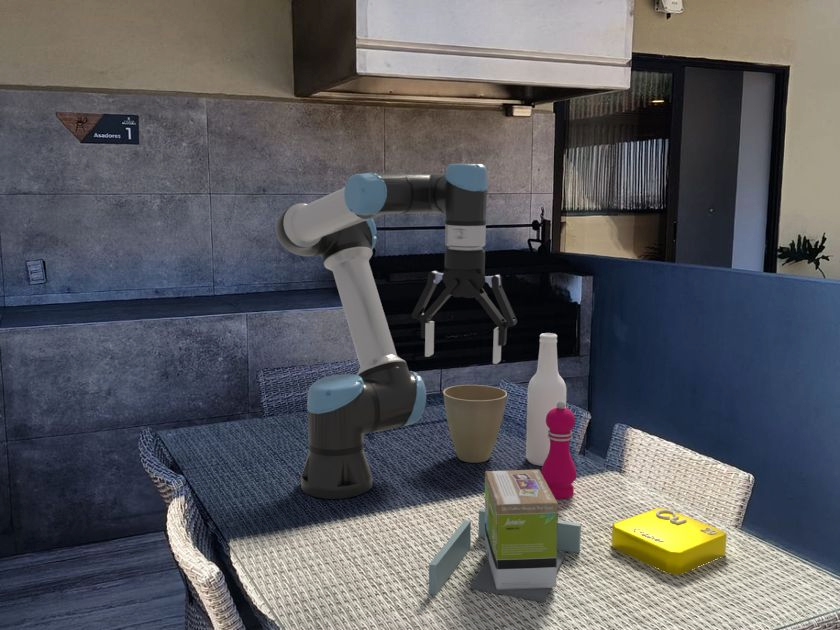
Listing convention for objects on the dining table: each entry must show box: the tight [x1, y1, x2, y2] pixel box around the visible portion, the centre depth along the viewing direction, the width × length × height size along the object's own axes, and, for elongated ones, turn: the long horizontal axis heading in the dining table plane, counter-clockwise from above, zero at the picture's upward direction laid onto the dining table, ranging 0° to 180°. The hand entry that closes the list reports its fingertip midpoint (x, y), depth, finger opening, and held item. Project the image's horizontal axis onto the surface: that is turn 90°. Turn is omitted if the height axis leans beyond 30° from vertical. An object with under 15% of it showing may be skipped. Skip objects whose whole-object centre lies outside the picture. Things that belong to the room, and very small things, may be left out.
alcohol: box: [525, 332, 567, 467], centre depth 188 cm, size 9×9×30 cm
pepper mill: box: [540, 401, 577, 500], centre depth 169 cm, size 7×7×20 cm
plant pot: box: [442, 384, 508, 464], centre depth 191 cm, size 15×15×16 cm
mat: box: [469, 550, 566, 603], centre depth 137 cm, size 12×17×1 cm
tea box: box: [484, 469, 559, 590], centre depth 135 cm, size 15×10×15 cm
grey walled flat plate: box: [428, 508, 582, 596], centre depth 136 cm, size 20×24×5 cm
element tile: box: [611, 507, 728, 575], centre depth 145 cm, size 15×15×5 cm
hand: (462, 358), depth 156 cm, fingers open, 13 cm apart
